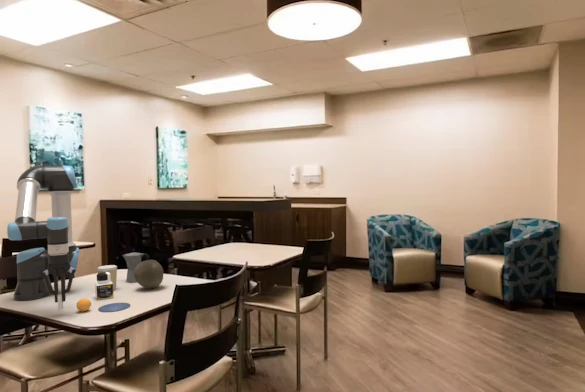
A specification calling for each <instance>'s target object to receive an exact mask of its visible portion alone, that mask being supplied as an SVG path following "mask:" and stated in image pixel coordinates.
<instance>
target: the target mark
mask: <svg viewBox="0 0 585 392" xmlns="http://www.w3.org/2000/svg"><path fill="white" fill-rule="evenodd" d="M130 307H131V304H130V303H129V302H113V303H107V304H104V305H101V306H99V307H98V309H97V310H98V312H101V313H114V312H121V311H124V310H126V309H128V308H130Z"/></svg>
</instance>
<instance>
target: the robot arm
mask: <svg viewBox="0 0 585 392" xmlns="http://www.w3.org/2000/svg"><path fill="white" fill-rule="evenodd" d="M74 169H75V168H74V167H73V166H71V165H62V164H61V165H42V164H41V165H35V166H32V167H29V168H27V169H26V170H25V171H24V172H22V173H21V175H20V176H19V178H18V180H17V182H16V189H17V191H18V192H17V202H16V208H15V217H14V221H13V222H9V223H8V224H7V231H6V234H7V235H6V236H7V239H8V240H10V241H25V240H26V241H27V240H29V241H30V240H38V239H39V240H40V239H47V250H46V248H45V247H35V248H30V249H27V250H23V251H20V252H18V253H17V254H16V270H17V271H16V274H17V278H16V279H17V284H16V287H15V289H14V293H13V299H14V300H15V301H21V302H22V301H32V300H37V299H38V300H39V299H42V298H45V297H48V296H50V295H53V296H54V303H57V311H63V309H64V302H66V297H67V295H66V294H67V293H69V292H70V291H71V288H72V284H73V280H74V279H73V278H74V275H75V273H76V272H77V268H78V265H79V256H80V255H79V254H80V248H79V247H77V244H76V243H75V242H74V241H73V226H72V225H73V223H72V195H73V193H74V192H75V189H77V188H78V185H77V180H76V175H75V170H74ZM42 189H43V190H47V193H48V194H49V195H50V197H51V198H50V199H51V217H48V218H47V219H46V220H40V221H38V220H37V221H36V219H37V206H38V205H37V204H38V194H39V192H40V190H42ZM68 272H69V273H70V274H69V277H68V282H67V286H66V274H67V273H68ZM49 274H50V275H52V276H53V284H52V282H51V280H50V276H49ZM59 277H60V289H59ZM59 290H61V292H60V293H59Z"/></svg>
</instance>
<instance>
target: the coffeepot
mask: <svg viewBox="0 0 585 392" xmlns="http://www.w3.org/2000/svg"><path fill="white" fill-rule="evenodd" d="M121 256H122V257H123V258H124V260H125V262H126V263H125V264H126V267H127V272H126V281H125V282H126V283H128V284H131V283H132V284H134V283H137V281H136V279H135V277H134V270H135V268H136V266H137V265H138V264H139V263H140V262H142V258H143V257H145V260H144V261H146V260H150V255H149V254H148V253H147V252H144V253H142V252H141V253H140V252H136V249H135V248H133V249H131V252H130V253H125V254H122V255H121Z"/></svg>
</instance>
